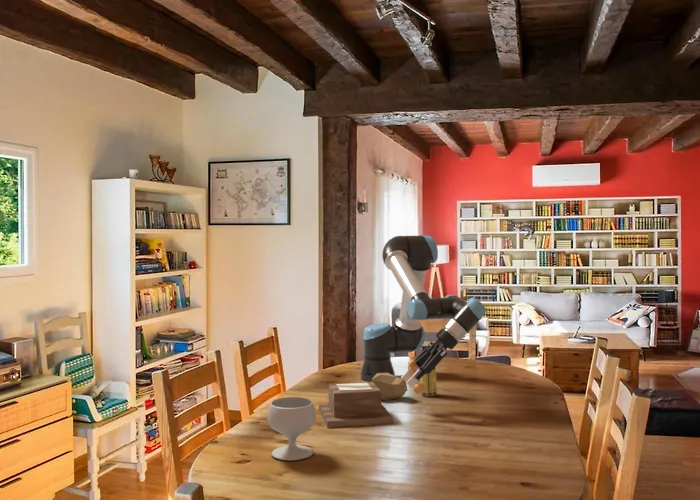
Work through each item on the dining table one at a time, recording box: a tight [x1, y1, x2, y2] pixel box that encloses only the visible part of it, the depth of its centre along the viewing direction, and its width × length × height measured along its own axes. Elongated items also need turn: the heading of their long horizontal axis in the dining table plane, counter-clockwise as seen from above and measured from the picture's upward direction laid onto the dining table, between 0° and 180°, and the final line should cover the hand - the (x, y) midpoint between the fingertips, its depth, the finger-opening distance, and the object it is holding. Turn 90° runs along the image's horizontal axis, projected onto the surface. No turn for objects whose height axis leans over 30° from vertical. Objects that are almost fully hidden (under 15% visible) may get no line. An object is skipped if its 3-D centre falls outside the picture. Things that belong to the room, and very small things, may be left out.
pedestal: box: [318, 381, 394, 429], centre depth 214 cm, size 22×22×10 cm
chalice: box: [266, 396, 317, 461], centre depth 177 cm, size 14×14×15 cm
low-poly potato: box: [371, 373, 408, 401], centre depth 236 cm, size 15×11×12 cm
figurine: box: [407, 359, 425, 395], centre depth 216 cm, size 8×6×12 cm
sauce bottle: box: [419, 343, 438, 398], centre depth 240 cm, size 6×6×20 cm
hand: (406, 382), depth 216 cm, fingers closed on figurine, 6 cm apart
